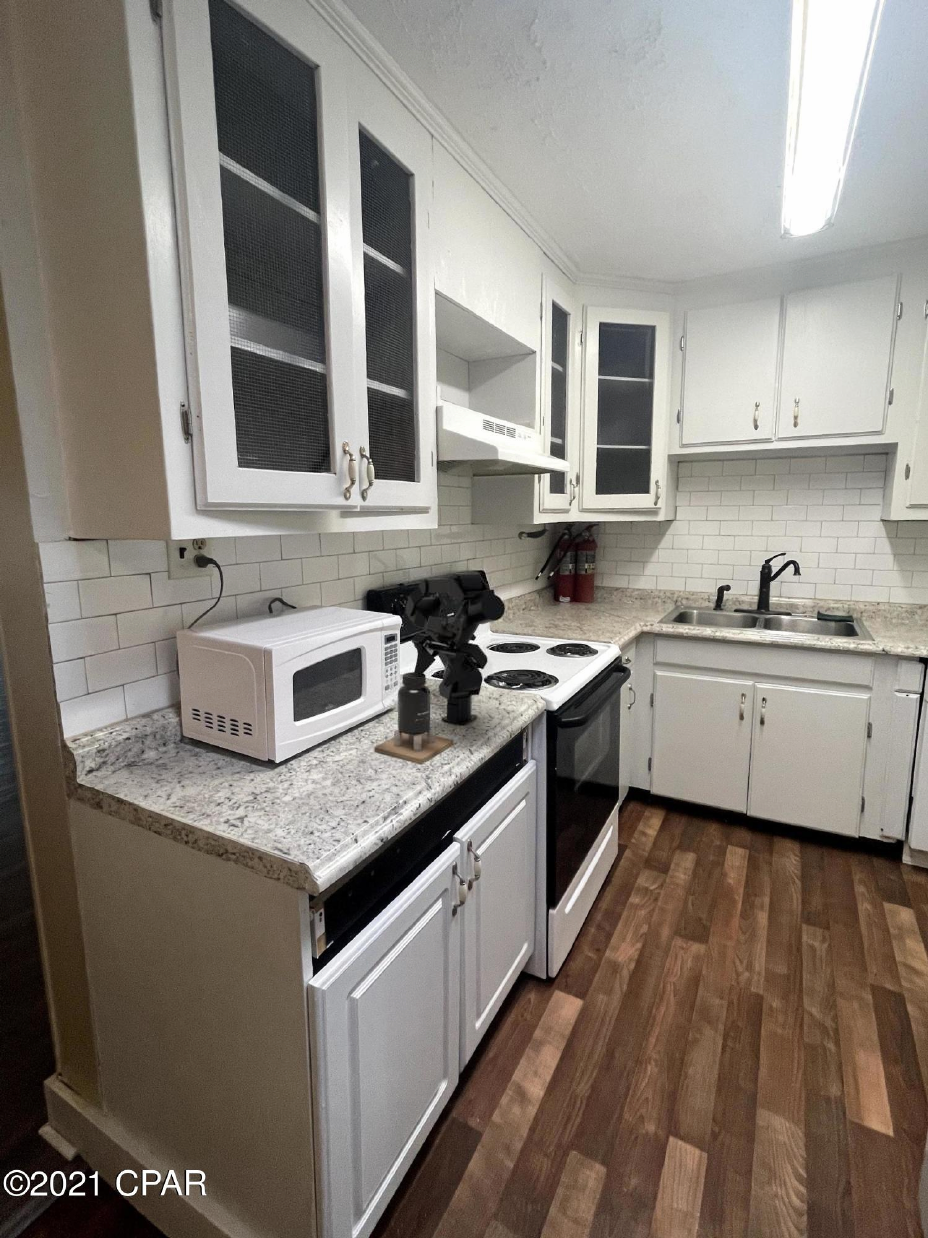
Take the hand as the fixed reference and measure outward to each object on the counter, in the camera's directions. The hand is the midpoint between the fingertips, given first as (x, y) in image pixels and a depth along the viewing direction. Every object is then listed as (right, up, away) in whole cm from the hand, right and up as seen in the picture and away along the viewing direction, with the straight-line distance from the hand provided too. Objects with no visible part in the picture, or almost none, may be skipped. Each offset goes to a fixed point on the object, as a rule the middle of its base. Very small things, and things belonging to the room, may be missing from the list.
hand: (429, 682), depth 126 cm
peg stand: (-3, -14, -1) cm, 14 cm away
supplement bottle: (-3, -10, -2) cm, 11 cm away
